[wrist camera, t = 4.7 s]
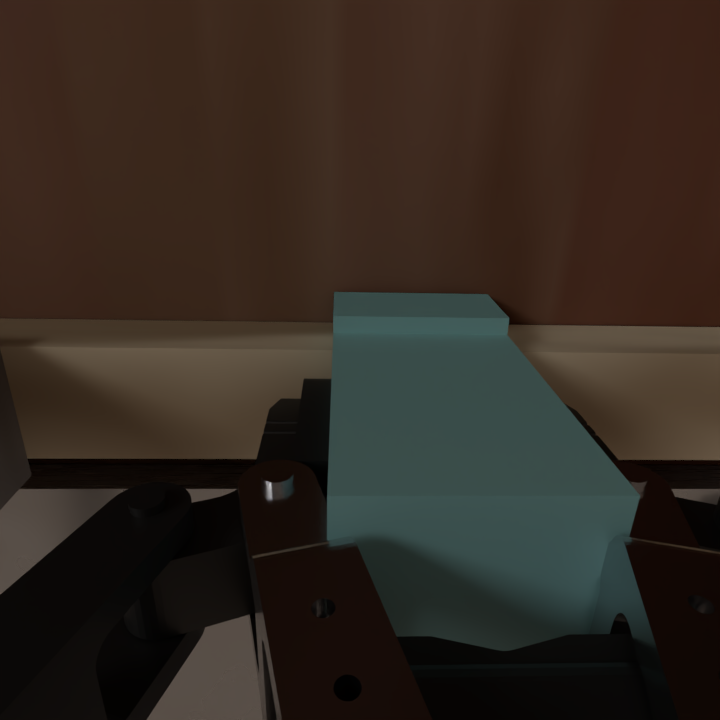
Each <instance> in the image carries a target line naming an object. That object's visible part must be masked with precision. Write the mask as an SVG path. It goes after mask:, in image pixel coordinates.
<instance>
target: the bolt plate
mask: <svg viewBox="0 0 720 720" xmlns="http://www.w3.org/2000/svg"><path fill="white" fill-rule="evenodd" d="M252 466H254V465H172V464H29V467H30V471H31V475H32V476H31V477H30V478H29V479H28V480H27V481H26V482H25V483H24V484H23V486H22V487H21V488H20V489H19V490H18V491H17V492H16V493H15V494H14V495H13V497H12V498H11V499H10V500H9V501H8V502H7V503H6V504H5V505H4V507H3V508H2V509H1V510H0V594H2V593H3V592H4V591H5V590H6V589H7V588H9V587H10V586H11V585H12V584H13V583H14V582H16V581H17V580H18V579H19V578H20V577H21V576H23V575H24V574H25V573H26V572H27V571H28V570H30V569H31V568H32V567H33V566H34V565H35V564H37V563H38V562H39V561H40V560H41V559H42V558H44V557H45V556H46V555H47V554H48V553H49V552H51V551H52V550H53V549H54V548H55V547H56V546H58V545H59V544H60V543H61V542H62V541H63V540H65V539H66V538H67V537H68V536H69V535H70V534H72V533H73V532H74V531H75V530H76V529H77V528H79V527H80V526H81V525H82V524H83V523H84V522H86V521H87V520H88V519H89V518H90V517H91V516H93V515H94V514H95V513H96V512H97V511H98V510H100V509H101V508H102V507H103V506H104V505H105V504H107V503H108V502H109V501H110V500H111V499H113V498H114V497H115V496H117V495H118V494H120V493H121V492H123V491H125V490H127V489H129V488H132V487H135V486H137V485H141V484H145V483H152V482H168V483H174V484H177V485H180V486H182V487H184V488H185V489H186V490H187V491H188V492H189V493H190V496H191V500H192V503H193V502H197V501H202V500H207V499H212V498H216V497H220V496H223V495H226V494H229V493H231V492H233V491H235V490H237V489H238V481H239V478H240V477H241V475H242V474H243V473H244V472H245V471H246V470H248V469H249V468H251V467H252ZM640 466H643V467H645V468H647V469H649V470H651V471H653V472H655V473H656V474H658V475H660V476H661V477H662V478H663V479H664V480H665V481H666V482H667V483H668V484H669V486H670V487H671V489H672V491H673V493H674V495H675V497H679V498H684V499H689V500H694V501H700V502H705V503H710V504H715V505H717V503H718V500H719V497H720V466H717V465H640ZM147 720H262V710H261V701H260V693H259V685H258V678H257V672H256V665H255V658H254V651H253V644H252V637H251V631H250V624H249V617H248V615H246V616H243V617H239V618H236V619H232V620H229V621H226V622H222V623H219V624H215V625H212V626H208V627H205V630H204V633H203V635H202V637H201V638H200V640H199V642H198V643H197V645H196V646H195V648H194V649H193V651H192V652H191V654H190V655H189V657H188V658H187V660H186V661H185V663H184V664H183V666H182V667H181V669H180V670H179V672H178V673H177V675H176V676H175V678H174V679H173V681H172V682H171V684H170V685H169V687H168V688H167V690H166V691H165V693H164V694H163V696H162V697H161V699H160V700H159V702H158V703H157V705H156V706H155V708H154V709H153V711H152V712H151V714H150V715H149V717H148V718H147Z"/></svg>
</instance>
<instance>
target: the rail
mask: <svg viewBox="0 0 720 720" xmlns="http://www.w3.org/2000/svg"><path fill="white" fill-rule="evenodd" d="M507 335H508V336H509V338H510V339H511V340H512V341H513V342H514V344H515V345H516V346H517V347H518V349H519V350H520V351H521V352H522V353H523V355H524V356H525V357H526V358H527V359H528V361H529V362H530V363H531V364H532V365H533V367H534V368H535V369H536V370H537V372H538V373H539V374H540V375H541V376H542V378H543V379H544V380H545V381H546V382H547V384H548V385H549V386H550V387H551V388H552V390H553V391H554V392H555V393H556V394H557V396H558V397H559V398H560V399H561V401H562V402H563V403H565V404H566V405H568V406H570V407H571V408H573V409H575V410H576V411H578V413H579V414H580V415H581V416H582V417H583V418H584V420H585V421H586V422H587V425H589V426H590V427H591V428H592V429H593V430H594V431H595V433H596V435H598V436H599V437H600V438H601V440H602V441H603V442H604V443H605V444H606V445H607V447H608V448H609V449H610V450H611V451H612V453H613V454H614V455H615V456H616V457H617V458H618V460H720V327H655V326H573V325H508V333H507ZM332 352H333V323H329V322H247V321H166V320H84V319H3V318H0V510H1V509H2V508H3V507H4V505H5V504H6V503H7V502H8V501H9V500H10V499H11V498H12V497H13V495H14V494H15V493H16V492H17V491H18V490H19V489H20V488H21V487H22V486H23V484H24V483H25V482H26V481H27V480H28V479H29V478H30V477H31V476H32V475H31V471H30V467H29V462H28V459H257V455H258V451H259V447H260V443H261V439H262V435H263V434H264V428H265V424H266V420H267V416H268V412H269V409H270V408H271V407H272V406H273V405H274V404H275V403H276V402H278V401H279V400H280V399H281V398H290V399H301V394H302V387H303V380H304V378H311V379H332Z"/></svg>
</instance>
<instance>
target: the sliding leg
mask: <svg viewBox="0 0 720 720" xmlns="http://www.w3.org/2000/svg"><path fill="white" fill-rule="evenodd" d="M508 325H509V317H508V316H507V315H506V314H505V313H504V312H503V311H502V310H501V308H500V307H499V306H498V305H497V304H496V303H495V302H494V301H493V300H492V299H491V298H490V296H489V295H488V294H437V293H368V292H334V311H333V352H332V379H331V406H330V433H329V460H328V487H327V540H332V539H337V538H343V537H348V536H351V537H352V538H353V539H354V540H355V542H356V544H357V546H358V548H359V551H360V553H361V555H362V558H363V560H364V562H365V565H366V567H367V569H368V572H369V574H370V576H371V579H372V581H373V583H374V586H375V588H376V590H377V592H378V595H379V597H380V599H381V602H382V604H383V606H384V609H385V611H386V613H387V616H388V618H389V620H390V623H391V625H392V627H393V630H394V632H395V634H396V636H397V637H399V636H433V637H437V638H442V639H447V640H452V641H456V642H461V643H466V644H471V645H475V646H480V647H485V648H490V649H494V650H500V651H510V650H514V649H518V648H522V647H525V646H529V645H532V644H536V643H540V642H543V641H547V640H551V639H554V638H558V637H562V636H565V635H572V634H589V632H590V628H591V624H592V620H593V616H594V612H595V608H596V604H597V601H598V597H599V591H600V580H601V571H602V567H603V563H604V559H605V555H606V551H607V547H608V543H609V542H611V541H612V539H613V538H614V537H615V536H616V535H621V536H627V537H629V536H630V532H631V528H632V524H633V521H634V517H635V513H636V510H637V506H638V502H639V499H640V495H639V494H638V492H637V491H636V490H635V489H634V488H633V486H632V485H631V484H630V483H629V482H628V480H627V479H626V478H625V477H624V475H623V474H622V473H621V472H620V471H619V469H618V468H617V467H616V466H615V465H614V463H613V462H612V461H611V460H610V459H609V457H608V456H607V455H606V454H605V453H604V451H603V450H602V449H601V448H600V446H599V445H598V444H597V443H596V442H595V440H594V439H593V438H592V437H591V436H590V434H589V433H588V432H587V431H586V430H585V428H584V427H583V426H582V425H581V424H580V422H579V421H578V420H577V419H576V417H575V416H574V415H573V414H572V413H571V411H570V410H569V409H568V408H567V407H566V405H565V404H564V403H563V402H562V401H561V399H560V398H559V397H558V396H557V394H556V393H555V392H554V391H553V390H552V388H551V387H550V386H549V385H548V384H547V382H546V381H545V380H544V379H543V378H542V376H541V375H540V374H539V373H538V372H537V370H536V369H535V368H534V367H533V365H532V364H531V363H530V362H529V361H528V359H527V358H526V357H525V356H524V355H523V353H522V352H521V351H520V350H519V349H518V347H517V346H516V345H515V344H514V342H513V341H512V340H511V339H510V338H509V336H508V335H507V333H508Z"/></svg>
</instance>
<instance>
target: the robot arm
mask: <svg viewBox="0 0 720 720" xmlns="http://www.w3.org/2000/svg"><path fill="white" fill-rule="evenodd" d="M564 404H565V403H564ZM565 405H566V404H565ZM330 406H331V379H311V378H304V380H303V387H302V394H301V399H290V398H281V399H280V400H279V401H278V402H276V403H275V404H274V405H273V406H272V407H271V408H270V409H269V412H268V416H267V420H266V424H265V428H264V434H263V435H262V439H261V443H260V447H259V451H258V455H257V459H256V463H255V465H254V466H252V467H251V468H249V469H248V470H246V471H245V472H244V473H243V474H242V475H241V477H240V478H239V481H238V489H237V490H235V491H233V492H231V493H229V494H226V495H223V496H220V497H216V498H212V499H207V500H202V501H197V502H193V503H192V500H191V496H190V493H189V492H188V491H187V490H186V489H185V488H184V487H182V486H180V485H177V484H174V483H168V482H152V483H145V484H141V485H137V486H135V487H132V488H129V489H127V490H125V491H123V492H121V493H120V494H118V495H117V496H115V497H114V498H113V499H111V500H110V501H109V502H108V503H107V504H105V505H104V506H103V507H102V508H101V509H100V510H98V511H97V512H96V513H95V514H94V515H93V516H91V517H90V518H89V519H88V520H87V521H86V522H84V523H83V524H82V525H81V526H80V527H79V528H77V529H76V530H75V531H74V532H73V533H72V534H70V535H69V536H68V537H67V538H66V539H65V540H63V541H62V542H61V543H60V544H59V545H58V546H56V547H55V548H54V549H53V550H52V551H51V552H49V553H48V554H47V555H46V556H45V557H44V558H42V559H41V560H40V561H39V562H38V563H37V564H35V565H34V566H33V567H32V568H31V569H30V570H28V571H27V572H26V573H25V574H24V575H23V576H21V577H20V578H19V579H18V580H17V581H16V582H14V583H13V584H12V585H11V586H10V587H9V588H7V589H6V590H5V591H4V592H3V593H2V594H0V720H147V718H148V717H149V715H150V714H151V712H152V711H153V709H154V708H155V706H156V705H157V703H158V702H159V700H160V699H161V697H162V696H163V694H164V693H165V691H166V690H167V688H168V687H169V685H170V684H171V682H172V681H173V679H174V678H175V676H176V675H177V673H178V672H179V670H180V669H181V667H182V666H183V664H184V663H185V661H186V660H187V658H188V657H189V655H190V654H191V652H192V651H193V649H194V648H195V646H196V645H197V643H198V642H199V640H200V638H201V637H202V635H203V633H204V630H205V627H208V626H212V625H215V624H219V623H222V622H226V621H229V620H232V619H236V618H239V617H243V616H246V615H248V617H249V624H250V631H251V637H252V644H253V651H254V658H255V665H256V672H257V678H258V685H259V693H260V701H261V710H262V720H720V497H719V500H718V503H717V505H715V504H710V503H705V502H700V501H694V500H689V499H684V498H679V497H675V495H674V493H673V491H672V489H671V487H670V486H669V484H668V483H667V482H666V481H665V480H664V479H663V478H662V477H661V476H660V475H658V474H656V473H655V472H653V471H651V470H649V469H647V468H645V467H643V466H640V465H637V464H634V463H630V462H625V461H619V460H618V458H617V457H616V456H615V455H614V454H613V453H612V451H611V450H610V449H609V448H608V447H607V445H606V444H605V443H604V442H603V441H602V440H601V438H600V437H599V436H598V435H596V433H595V431H594V430H593V429H592V428H591V427H590V426H589V425H587V422H586V421H585V420H584V418H583V417H582V416H581V415H580V414H579V413H578V411H576V410H575V409H573V408H571V407H570V406H568V405H566V407H567V408H568V409H569V410H570V411H571V413H572V414H573V415H574V416H575V417H576V419H577V420H578V421H579V422H580V424H581V425H582V426H583V427H584V428H585V430H586V431H587V432H588V433H589V434H590V436H591V437H592V438H593V439H594V440H595V442H596V443H597V444H598V445H599V446H600V448H601V449H602V450H603V451H604V453H605V454H606V455H607V456H608V457H609V459H610V460H611V461H612V462H613V463H614V465H615V466H616V467H617V468H618V469H619V471H620V472H621V473H622V474H623V475H624V477H625V478H626V479H627V480H628V482H629V483H630V484H631V485H632V486H633V488H634V489H635V490H636V491H637V492H638V494H639V495H640V499H639V502H638V506H637V510H636V513H635V517H634V521H633V524H632V528H631V532H630V536H629V537H627V536H621V535H616V536H615V537H614V538H613V539H612V541H611V542H609V543H608V547H607V551H606V555H605V559H604V563H603V567H602V571H601V580H600V591H599V597H598V601H597V604H596V608H595V612H594V616H593V620H592V624H591V628H590V632H589V634H572V635H565V636H562V637H558V638H554V639H551V640H547V641H543V642H540V643H536V644H532V645H529V646H525V647H522V648H518V649H514V650H510V651H500V650H494V649H490V648H485V647H480V646H475V645H471V644H466V643H461V642H456V641H452V640H447V639H442V638H437V637H433V636H399V637H397V636H396V634H395V632H394V630H393V627H392V625H391V623H390V620H389V618H388V616H387V613H386V611H385V609H384V606H383V604H382V602H381V599H380V597H379V595H378V592H377V590H376V588H375V586H374V583H373V581H372V579H371V576H370V574H369V572H368V569H367V567H366V565H365V562H364V560H363V558H362V555H361V553H360V551H359V548H358V546H357V544H356V542H355V540H354V539H353V538H352V537H351V536H348V537H343V538H337V539H332V540H327V487H328V460H329V433H330Z"/></svg>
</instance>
